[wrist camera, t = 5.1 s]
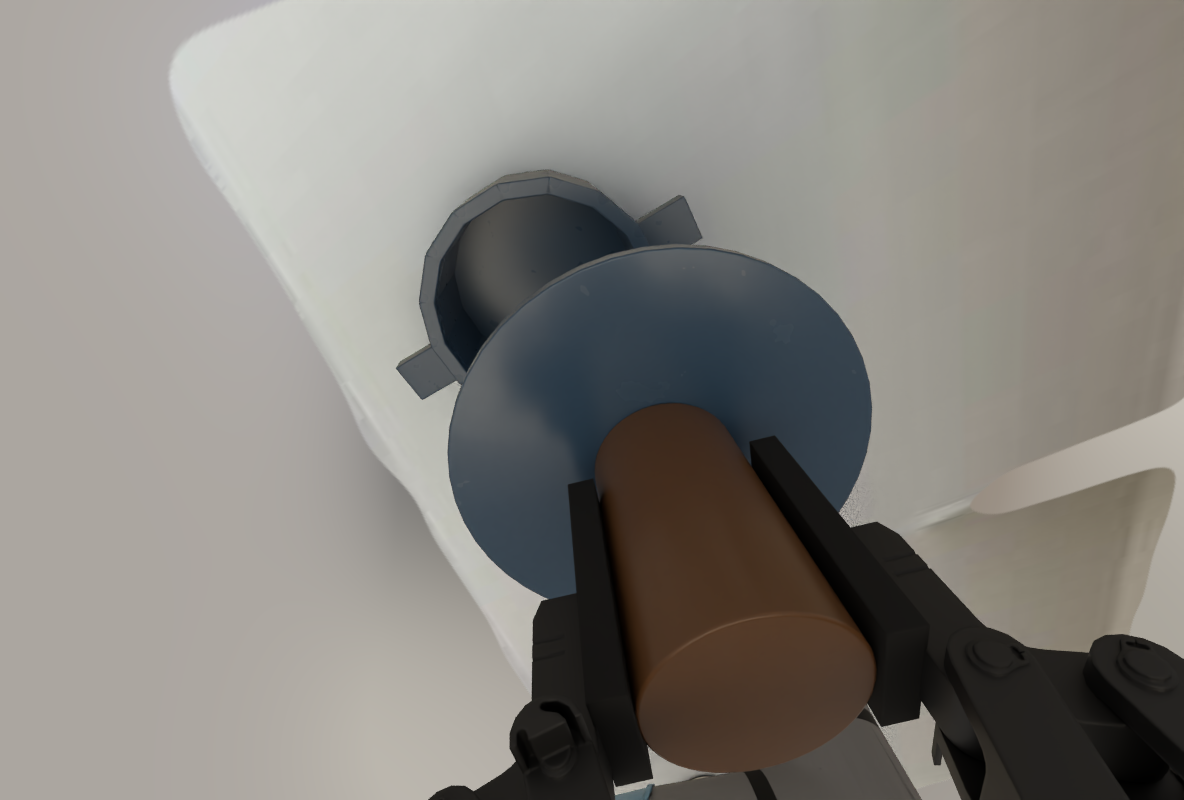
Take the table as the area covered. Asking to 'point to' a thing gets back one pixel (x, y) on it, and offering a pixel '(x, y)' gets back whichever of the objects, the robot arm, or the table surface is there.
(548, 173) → the tin
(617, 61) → the table surface
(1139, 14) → the table surface
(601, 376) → the tin lid
